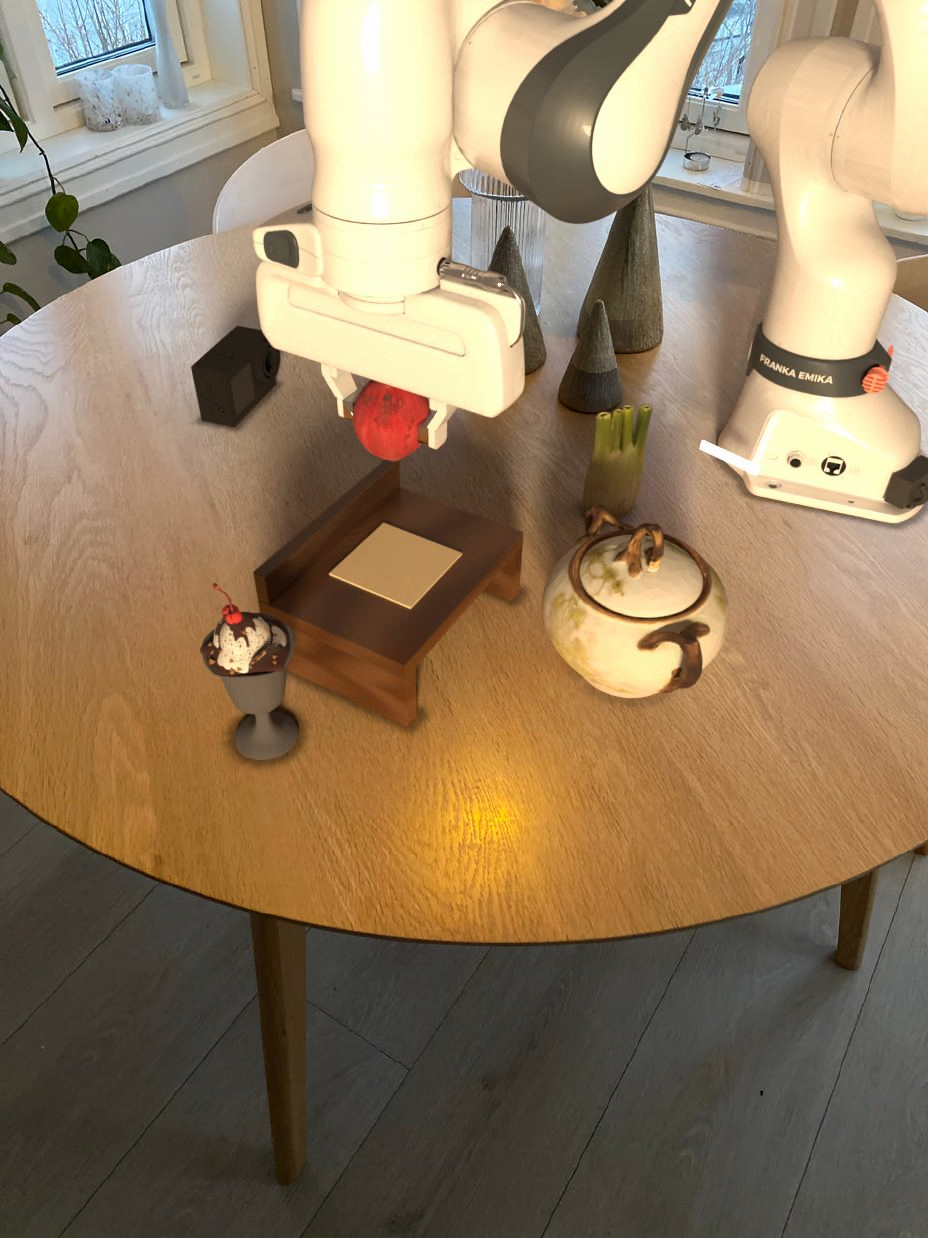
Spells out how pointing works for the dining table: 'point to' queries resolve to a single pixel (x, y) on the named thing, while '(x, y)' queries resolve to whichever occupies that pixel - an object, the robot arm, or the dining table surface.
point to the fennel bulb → (617, 460)
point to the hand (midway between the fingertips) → (391, 429)
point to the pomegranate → (388, 420)
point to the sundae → (254, 677)
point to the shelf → (383, 587)
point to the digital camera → (235, 375)
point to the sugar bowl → (634, 608)
